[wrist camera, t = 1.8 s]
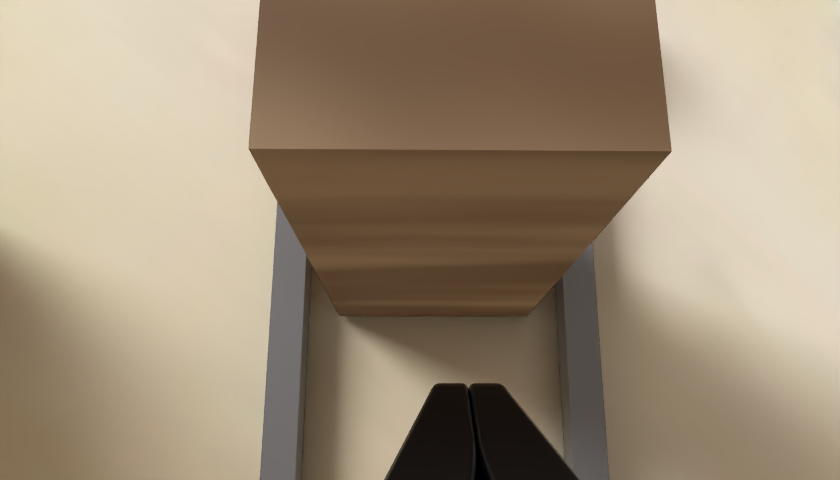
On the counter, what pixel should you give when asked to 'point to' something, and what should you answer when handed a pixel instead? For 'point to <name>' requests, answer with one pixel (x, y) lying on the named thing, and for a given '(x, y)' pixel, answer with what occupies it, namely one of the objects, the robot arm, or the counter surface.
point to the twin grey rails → (290, 364)
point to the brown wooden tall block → (454, 142)
